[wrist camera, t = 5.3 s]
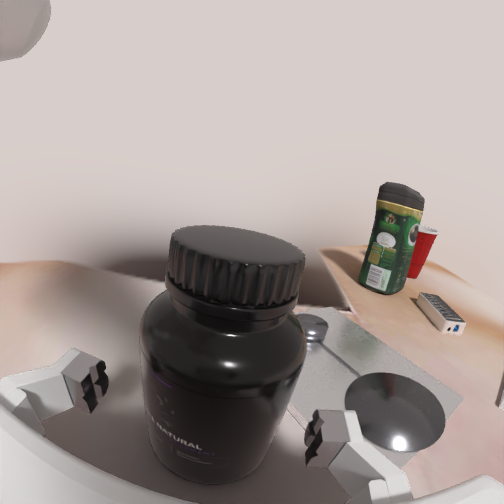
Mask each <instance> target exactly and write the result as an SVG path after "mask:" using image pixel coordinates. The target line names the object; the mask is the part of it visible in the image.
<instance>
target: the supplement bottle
mask: <svg viewBox="0 0 504 504" xmlns="http://www.w3.org/2000/svg"><path fill="white" fill-rule="evenodd" d="M304 265H305V254H304V253H302V251H301V250H300V249H298V247H296V246H294V245H292V244H291V243H288V242H286V241H284V240H282V239H279V238H276V237H273V236H269V235H267V234H263V233H259V232H255V231H250V230H245V229H239V228H234V227H225V226H209V225H202V226H188V227H184V228H180V229H178V230H175V232H173V233H172V236H171V241H170V249H169V261H168V267H167V269H166V275H165V285H166V288H167V290H165V291H164V292H162V293H161V294H159V295H158V296H157V297H156V298H155V299H154V300H153V301H152V302H151V303H150V304H149V306H148V307H147V308H146V310H145V312H144V314H143V316H142V319H141V322H140V330H139V345H140V363H141V376H142V387H143V396H144V405H145V413H146V420H147V427H148V433H149V438H150V442H151V445H152V448H153V450H154V452H155V454H156V455H157V457H158V458H159V460H160V461H161V462H162V463H163V464H164V465H165V466H166V467H167V468H168V469H170V470H171V471H172V472H174V473H175V474H177V475H179V476H181V477H183V478H185V479H188V480H191V481H194V482H198V483H204V484H224V483H229V482H233V481H236V480H239V479H241V478H243V477H245V476H247V475H248V474H250V473H251V472H253V471H254V470H255V469H256V468H257V467H258V466H259V464H260V463H261V462H262V460H263V458H264V457H265V455H266V453H267V451H268V449H269V447H270V445H271V443H272V440H273V438H274V436H275V434H276V432H277V429H278V427H279V425H280V423H281V420H282V418H283V416H284V413H285V411H286V408H287V406H288V404H289V401H290V399H291V396H292V394H293V391H294V389H295V386H296V384H297V381H298V379H299V376H300V373H301V371H302V368H303V364H304V361H305V358H306V354H307V340H306V335H305V332H304V329H303V326H302V324H301V322H300V321H299V319H298V318H297V316H296V315H295V314H294V312H293V311H292V310H293V309H294V308H295V306H296V303H297V300H298V296H299V285H300V281H301V277H302V273H303V269H304Z"/></svg>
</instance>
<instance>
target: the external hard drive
mask: <svg viewBox="0 0 504 504" xmlns="http://www.w3.org/2000/svg"><path fill="white" fill-rule="evenodd" d="M498 408H500V409H502V410H503V411H504V389H503V393H502V397H501V400H500V404H499V407H498Z"/></svg>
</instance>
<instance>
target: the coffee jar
mask: <svg viewBox="0 0 504 504" xmlns="http://www.w3.org/2000/svg"><path fill="white" fill-rule="evenodd" d="M423 208H424V198H423V197H422V196H421V195H420V193H419V192H417V191H415V190H413V189H411V188H410V187H408V186H406V185H403V184H398V183H392V182H386V183H385V184H383V185H382V186H380V188H379V193H378V197H377V202H376V215H375V221H374V226H373V229H372V233H371V237H370V241H369V245H368V248H367V252H366V255H365V258H364V261H363V265H362V268H361V271H360V275H359V282H360V283H362V284H363V285H364V286H365V287H366V288H368V289H370V290H372V291H375V292H381V293H385V294H388V295H390V294H394V293H397V292H399V291H400V290H402V288H403V287H404V284H405V281H406V278H407V274H408V270H409V266H410V262H411V258H412V255H413V251H414V247H415V242H416V238H417V234H418V229H419V225H420V221H421V217H422V214H423Z"/></svg>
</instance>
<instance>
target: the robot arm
mask: <svg viewBox="0 0 504 504" xmlns="http://www.w3.org/2000/svg"><path fill="white" fill-rule="evenodd" d="M50 14H51V6H50V1H49V0H0V61H5V60H10V59H14V58H19V57H22V56H23V55H25V54H26V53H27V52H28V51H30V50H31V49H32V48H33V47H34V45H36V43H37V42H38V41H39V40H40V38H41V37H42V35H43V33H44V32H45V30H46V28H47V25H48V22H49V19H50ZM105 369H106V365H105V362H104V361H102V360H100V359H98V358H96V357H93V356H91V355H89V354H87V353H85V352H82V351H80V350H78V349H76V348H72V349H70V350H69V351H68V352H67V353H66V354H65V355H64V356H63V357H62V358H60V359H59V360H58V361H57V362H56V363H55V364H54V365H53V366H52V367H51V368H50V367H44V368H40V369H35V370H31V371H27V372H22V373H18V374H13V375H9V376H5V377H4V378H3V379H1V380H0V504H199V503H194V502H190V501H186V500H182V499H179V498H175V497H171V496H168V495H165V494H161V493H158V492H155V491H152V490H149V489H146V488H144V487H141V486H138V485H136V484H133V483H130V482H128V481H125V480H123V479H121V478H118V477H116V476H114V475H111V474H109V473H107V472H105V471H103V470H101V469H99V468H97V467H95V466H93V465H91V464H89V463H87V462H85V461H83V460H81V459H79V458H77V457H76V456H74V455H72V454H70V453H69V452H67V451H65V450H64V449H62V448H60V447H59V446H57V445H55V444H54V443H52V442H51V441H49V440H48V439H46V438H45V437H44V435H45V434H46V431H45V429H44V427H43V425H42V424H41V421H44V420H46V419H48V418H51V417H53V416H55V415H57V414H60V413H62V412H64V411H66V410H68V409H71V408H73V407H74V406H75V407H77V408H79V409H81V410H83V411H86V412H88V413H90V414H91V413H92V411H93V410H94V409H95V407H96V406H97V404H98V398H101V397H103V396H104V395H105V393H106V391H107V388H108V383H109V380H108V376H107V375H106V373H105V372H104V370H105ZM312 418H313V420H312V421H311V422H309V423H308V425H307V427H306V431H305V437H304V442H305V445H306V446H307V447H308V449H307V451H306V453H305V458H306V467H328V470H329V471H330V472H331V474H332V475H333V476H334V478H335V479H336V480H337V481H338V483H339V484H340V485H341V486H342V488H343V489H344V490H345V491H346V493H347V494H348V495H349V496H350V498H351V499H350V500H348V501H347V502H346V503H345V504H504V485H503V484H501V483H500V482H498V481H496V480H495V479H493V478H491V477H489V476H487V475H484V474H483V475H479V476H476V477H474V478H471V479H469V480H467V481H465V482H462V483H460V484H457V485H455V486H452V487H450V488H447V489H444V490H441V491H439V492H436V493H433V494H429V495H426V496H423V497H420V498H416V499H413V495H412V492H411V488H410V485H409V482H408V479H407V475H406V474H405V473H404V472H403V471H402V470H400V469H399V468H398V467H397V466H396V465H394V464H393V463H392V462H391V461H390V460H388V459H387V458H386V457H385V456H384V455H382V454H381V453H380V452H379V451H378V450H377V449H375V448H374V447H373V446H372V445H371V444H370V443H369V442H364V440H363V436H362V432H361V429H360V425H359V422H358V418H357V415H356V412H355V411H354V410H323V409H316V410H315V411H314V413H313V415H312Z"/></svg>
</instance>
